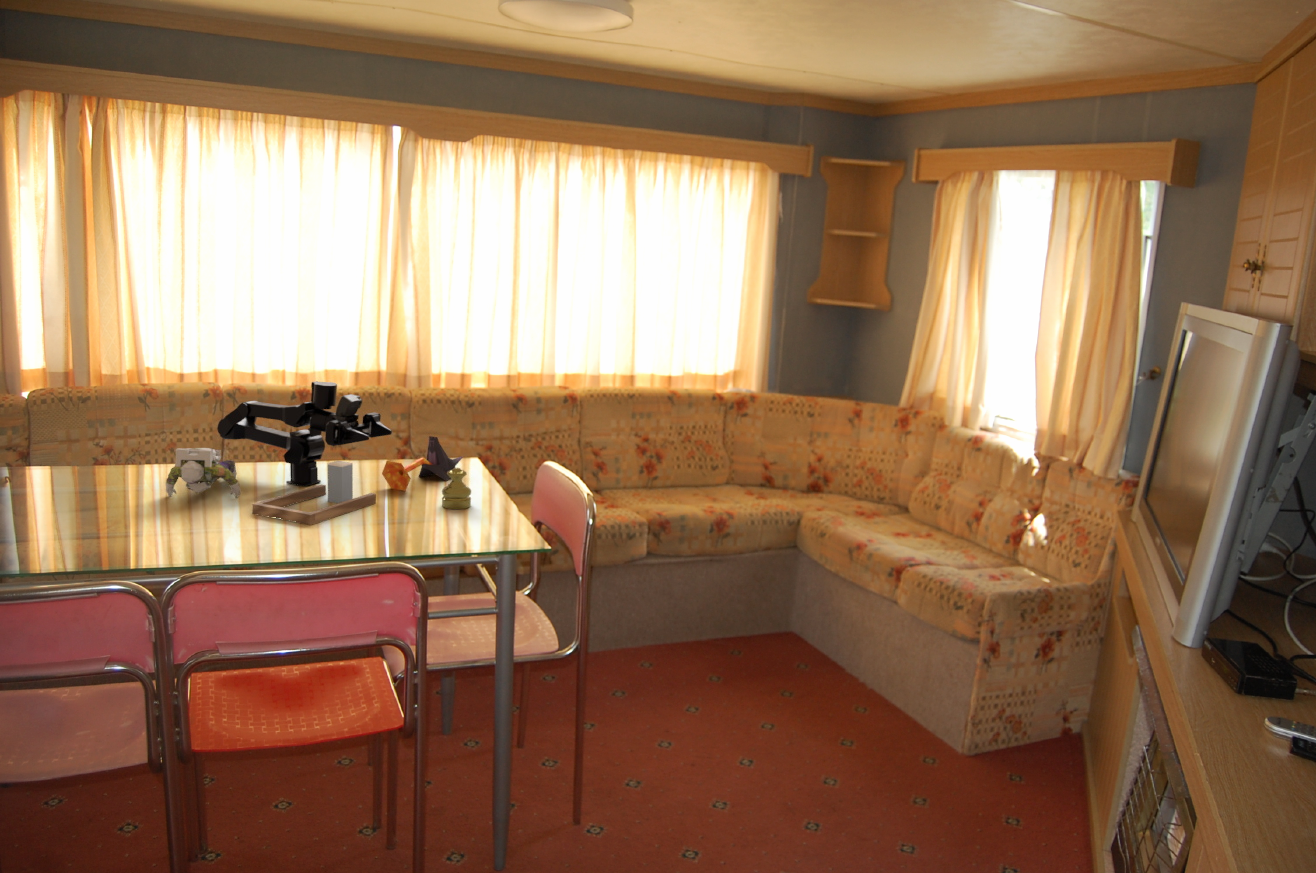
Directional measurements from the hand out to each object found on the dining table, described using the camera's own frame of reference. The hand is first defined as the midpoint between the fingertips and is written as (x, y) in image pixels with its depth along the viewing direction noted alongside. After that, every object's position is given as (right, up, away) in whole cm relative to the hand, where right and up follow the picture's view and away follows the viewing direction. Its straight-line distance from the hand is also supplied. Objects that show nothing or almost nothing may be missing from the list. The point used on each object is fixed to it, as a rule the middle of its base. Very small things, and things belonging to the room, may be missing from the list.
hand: (380, 435), depth 240 cm
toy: (-43, -15, -3) cm, 46 cm away
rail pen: (-12, -18, -11) cm, 24 cm away
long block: (-9, -17, -3) cm, 20 cm away
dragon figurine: (+6, -13, +21) cm, 26 cm away
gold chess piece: (+20, -18, -2) cm, 28 cm away
